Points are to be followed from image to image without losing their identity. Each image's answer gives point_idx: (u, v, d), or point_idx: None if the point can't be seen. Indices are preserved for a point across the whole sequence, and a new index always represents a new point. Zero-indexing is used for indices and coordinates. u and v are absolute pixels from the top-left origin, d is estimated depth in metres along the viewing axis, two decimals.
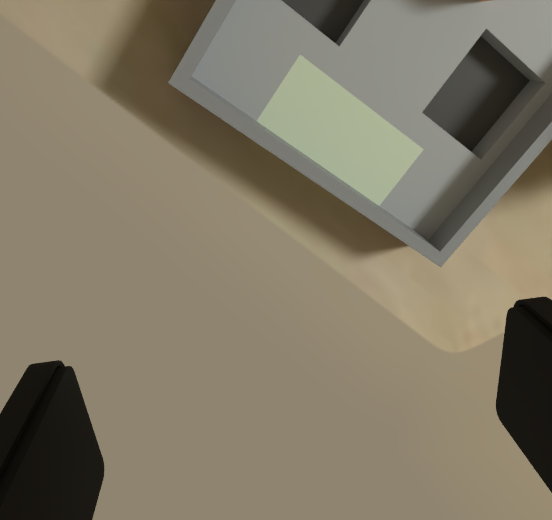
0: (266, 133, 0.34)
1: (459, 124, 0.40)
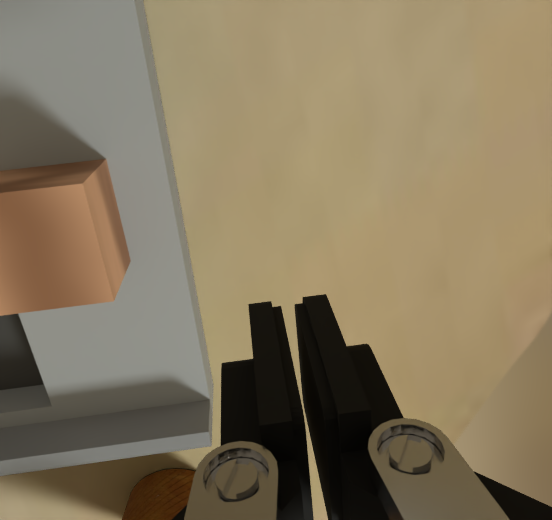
0: None
1: None
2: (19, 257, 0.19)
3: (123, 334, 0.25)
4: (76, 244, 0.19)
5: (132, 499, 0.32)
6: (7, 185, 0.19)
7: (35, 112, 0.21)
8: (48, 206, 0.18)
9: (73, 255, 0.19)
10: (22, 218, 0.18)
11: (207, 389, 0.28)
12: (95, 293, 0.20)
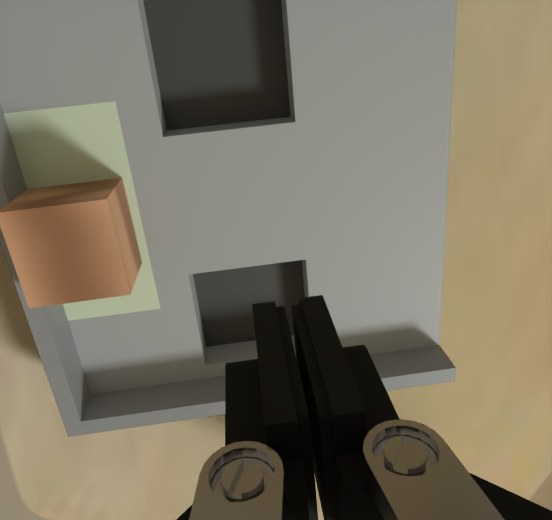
0: None
1: (219, 313, 0.33)
2: (54, 259, 0.24)
3: (384, 286, 0.31)
4: (100, 248, 0.24)
5: None
6: (44, 201, 0.23)
7: (361, 99, 0.26)
8: (79, 217, 0.23)
9: (97, 257, 0.24)
10: (57, 227, 0.23)
11: (439, 336, 0.33)
12: (115, 288, 0.24)
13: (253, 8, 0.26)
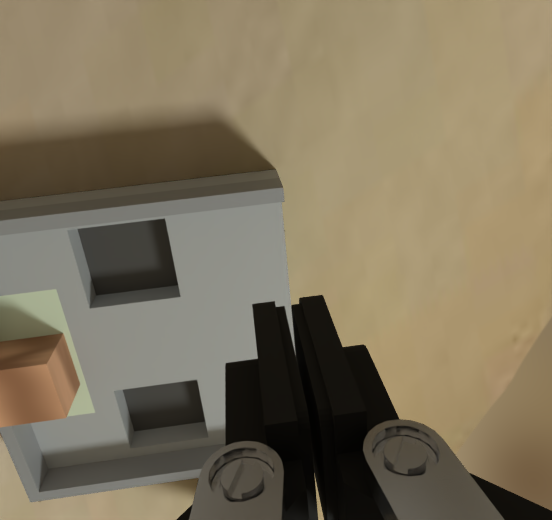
0: None
1: (142, 409, 0.45)
2: (14, 398, 0.36)
3: None
4: (44, 391, 0.36)
5: None
6: (7, 361, 0.36)
7: (225, 282, 0.38)
8: (29, 374, 0.35)
9: (42, 397, 0.36)
10: (15, 380, 0.35)
11: None
12: (55, 414, 0.37)
13: (151, 222, 0.38)
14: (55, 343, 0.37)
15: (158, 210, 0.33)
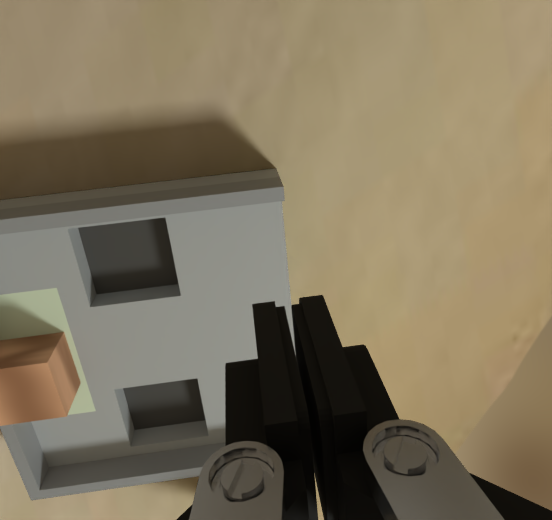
0: None
1: (143, 408, 0.45)
2: (15, 397, 0.36)
3: None
4: (45, 390, 0.36)
5: None
6: (8, 359, 0.36)
7: (225, 281, 0.38)
8: (30, 373, 0.35)
9: (43, 395, 0.36)
10: (16, 379, 0.35)
11: None
12: (56, 413, 0.37)
13: (151, 221, 0.38)
14: (56, 342, 0.37)
15: (158, 209, 0.33)
